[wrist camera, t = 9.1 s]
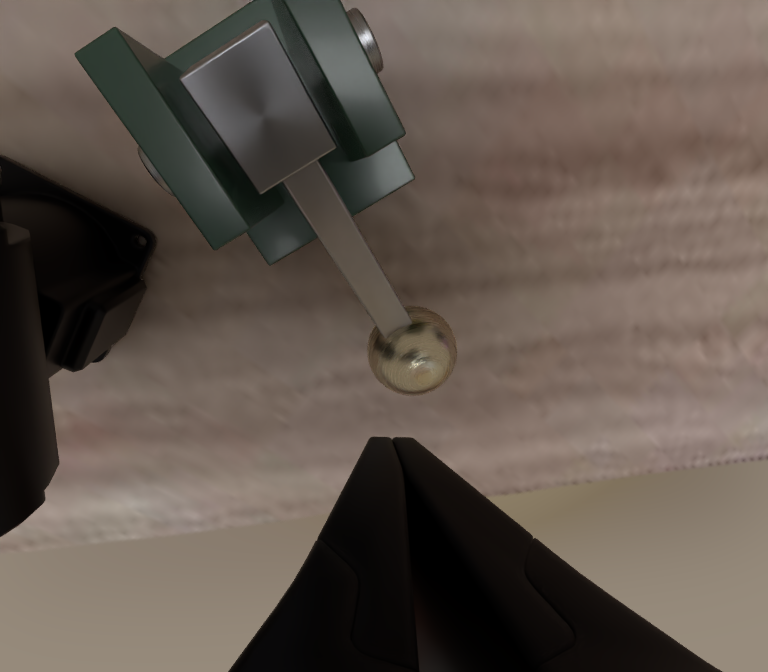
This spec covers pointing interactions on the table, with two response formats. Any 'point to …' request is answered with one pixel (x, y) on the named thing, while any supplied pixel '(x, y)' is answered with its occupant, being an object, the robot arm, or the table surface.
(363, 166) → the bracket
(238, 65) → the handle lever
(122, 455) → the table surface
